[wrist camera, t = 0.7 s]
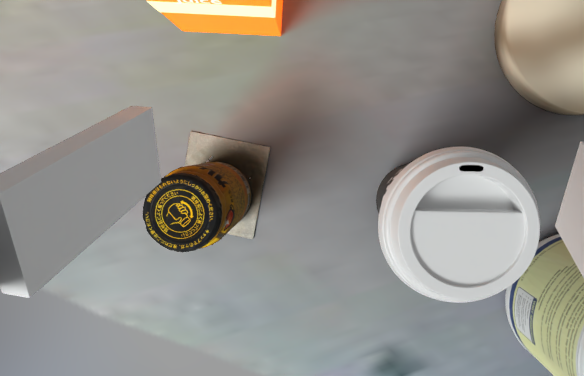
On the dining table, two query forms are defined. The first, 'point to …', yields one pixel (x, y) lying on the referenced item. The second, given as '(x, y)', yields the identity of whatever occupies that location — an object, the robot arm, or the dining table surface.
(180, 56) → the dining table surface
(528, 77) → the birch stand
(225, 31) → the orange juice
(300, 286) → the dining table surface
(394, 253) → the coffee cup
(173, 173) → the condiment
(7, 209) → the robot arm
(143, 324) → the dining table surface
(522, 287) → the supplement tub
